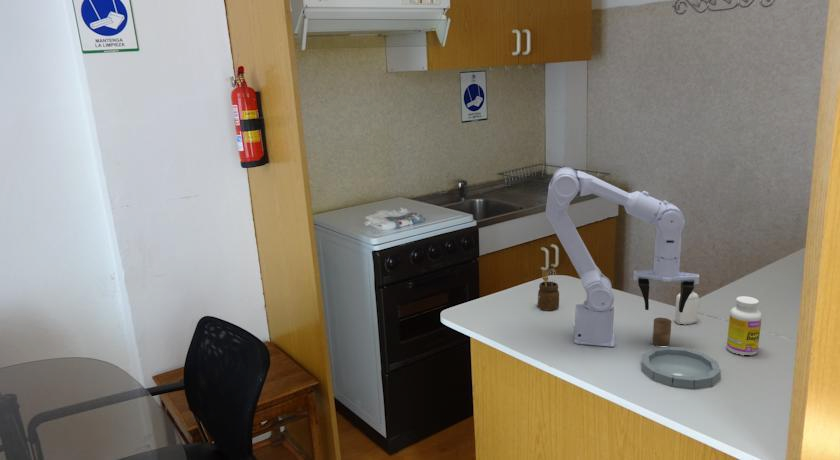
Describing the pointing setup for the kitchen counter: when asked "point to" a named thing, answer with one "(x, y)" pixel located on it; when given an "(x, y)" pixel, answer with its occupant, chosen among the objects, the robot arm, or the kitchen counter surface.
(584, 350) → the kitchen counter surface
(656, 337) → the walnut cylinder
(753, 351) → the supplement bottle
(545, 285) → the utensil holder
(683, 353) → the slate dish
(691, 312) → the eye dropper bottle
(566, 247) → the robot arm
